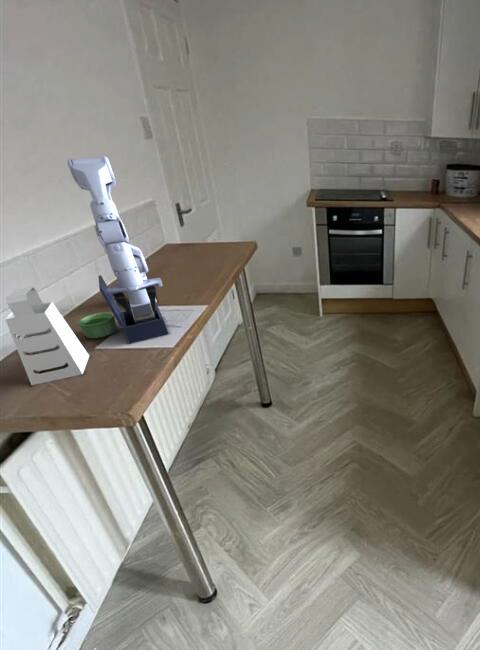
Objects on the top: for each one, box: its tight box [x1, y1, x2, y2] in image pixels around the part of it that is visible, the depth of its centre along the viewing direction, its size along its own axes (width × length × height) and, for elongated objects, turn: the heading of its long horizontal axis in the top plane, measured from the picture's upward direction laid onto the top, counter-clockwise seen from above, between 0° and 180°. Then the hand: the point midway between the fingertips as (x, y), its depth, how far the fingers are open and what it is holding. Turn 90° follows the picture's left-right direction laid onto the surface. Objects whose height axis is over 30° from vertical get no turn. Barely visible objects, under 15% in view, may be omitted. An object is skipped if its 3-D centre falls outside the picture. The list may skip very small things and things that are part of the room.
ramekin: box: [77, 312, 118, 339], centre depth 120 cm, size 9×9×4 cm
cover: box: [98, 274, 124, 328], centre depth 114 cm, size 11×14×1 cm
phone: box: [130, 304, 156, 324], centre depth 119 cm, size 10×5×3 cm, turn 31°
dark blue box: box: [121, 303, 169, 344], centre depth 120 cm, size 10×14×5 cm
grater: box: [4, 286, 90, 386], centre depth 98 cm, size 10×10×20 cm
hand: (143, 315), depth 119 cm, fingers closed on phone, 5 cm apart
